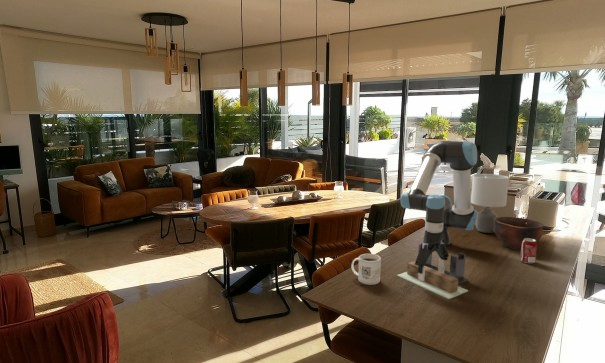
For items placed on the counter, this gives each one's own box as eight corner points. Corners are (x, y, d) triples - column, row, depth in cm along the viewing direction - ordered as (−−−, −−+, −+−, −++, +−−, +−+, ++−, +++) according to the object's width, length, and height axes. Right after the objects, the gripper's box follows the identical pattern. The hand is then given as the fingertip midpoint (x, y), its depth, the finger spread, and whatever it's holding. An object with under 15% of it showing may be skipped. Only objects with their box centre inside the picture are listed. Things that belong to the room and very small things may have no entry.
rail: (407, 274, 180) (407, 263, 179) (412, 272, 182) (413, 261, 181) (451, 293, 160) (452, 281, 159) (457, 291, 162) (458, 278, 161)
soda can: (537, 264, 192) (539, 242, 190) (522, 263, 194) (525, 241, 192) (532, 260, 199) (534, 238, 197) (518, 259, 200) (520, 237, 198)
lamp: (464, 226, 260) (468, 173, 254) (496, 227, 257) (501, 174, 251) (473, 235, 240) (478, 178, 233) (508, 237, 237) (514, 179, 231)
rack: (414, 266, 190) (415, 243, 188) (423, 263, 194) (424, 240, 192) (458, 284, 170) (460, 258, 168) (467, 280, 174) (469, 255, 172)
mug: (365, 286, 167) (366, 263, 166) (350, 276, 178) (350, 254, 176) (384, 282, 172) (385, 259, 170) (368, 272, 183) (368, 250, 181)
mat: (397, 276, 179) (397, 274, 179) (415, 269, 186) (415, 268, 186) (448, 299, 156) (449, 298, 156) (467, 291, 163) (467, 290, 163)
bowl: (535, 242, 227) (537, 217, 225) (546, 256, 204) (549, 229, 202) (489, 237, 235) (491, 214, 233) (494, 251, 212) (497, 224, 210)
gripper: (422, 237, 157) (419, 286, 160) (458, 228, 171) (455, 272, 174) (407, 233, 163) (405, 279, 167) (444, 224, 177) (441, 267, 180)
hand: (431, 276), depth 170 cm, fingers open, 13 cm apart
